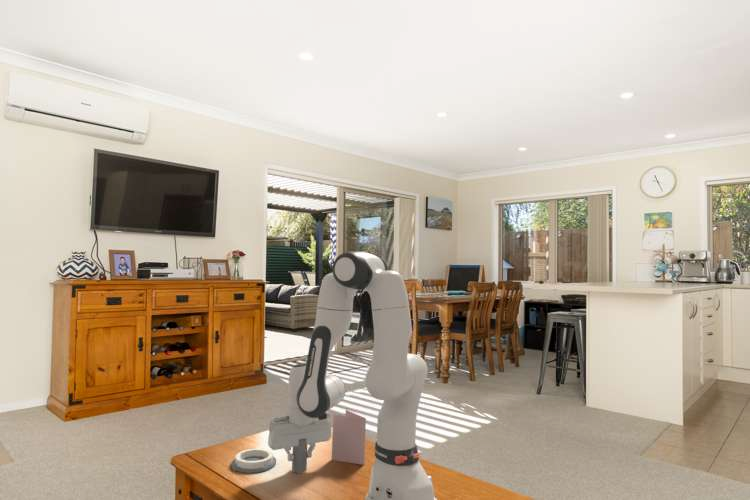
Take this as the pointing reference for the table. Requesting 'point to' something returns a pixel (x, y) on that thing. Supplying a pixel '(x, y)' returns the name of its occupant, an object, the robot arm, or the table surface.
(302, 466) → the grey cylinder
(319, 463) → the table surface
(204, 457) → the table surface
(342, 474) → the table surface
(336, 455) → the greeting card
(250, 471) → the ring dish
